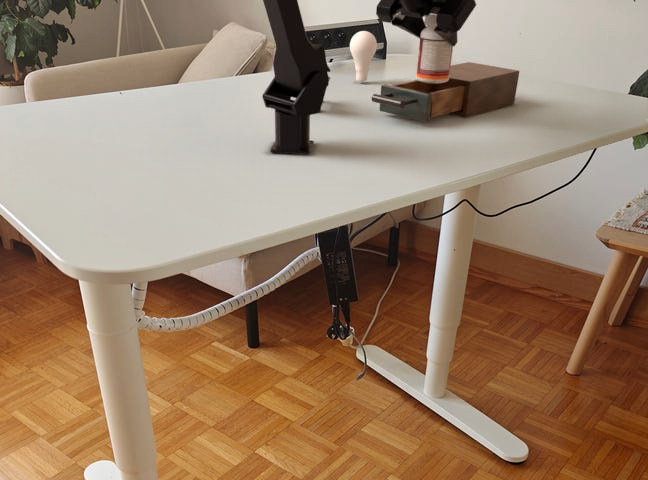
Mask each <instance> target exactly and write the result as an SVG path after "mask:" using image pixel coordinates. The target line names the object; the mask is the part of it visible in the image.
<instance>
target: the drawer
mask: <svg viewBox="0 0 648 480" xmlns="http://www.w3.org/2000/svg"><path fill="white" fill-rule="evenodd" d="M466 86H467V85H463V84H457V83H452V82H445V83H435V84H433V83H425V82H420V81H418V80H417V79H415V80H410V81H409V80H408V81H404V82H400V83H395V84H392V85H391V84H386V83H383V84H381V85H380V94H377V93H373V94H372V96H371V102H373V103H376V104H379V112H383V113H386V114H390V115H395V116H399V117H403V118H406V119H411V120H414V121H419V122H423V123H427V122H430V119H432V118H435V117H439V116H443V115H447V114H448V113H451V112H455V111H459V110H463V108H464V101H465V93H466Z"/></svg>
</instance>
